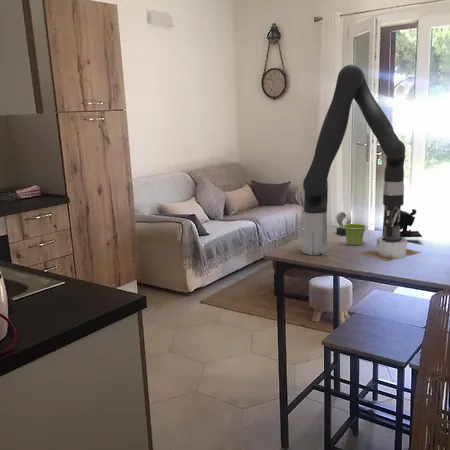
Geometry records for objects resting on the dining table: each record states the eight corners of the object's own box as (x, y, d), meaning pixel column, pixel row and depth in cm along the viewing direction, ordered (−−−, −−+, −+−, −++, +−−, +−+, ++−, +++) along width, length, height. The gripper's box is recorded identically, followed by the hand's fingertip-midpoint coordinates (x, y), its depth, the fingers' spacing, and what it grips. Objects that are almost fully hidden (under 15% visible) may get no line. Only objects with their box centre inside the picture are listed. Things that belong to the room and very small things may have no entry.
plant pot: (365, 243, 218) (365, 223, 216) (366, 248, 209) (366, 228, 207) (343, 242, 220) (343, 223, 218) (343, 248, 211) (343, 228, 209)
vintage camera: (422, 246, 211) (425, 199, 207) (383, 244, 214) (387, 198, 210) (418, 241, 220) (421, 196, 216) (381, 239, 223) (384, 195, 219)
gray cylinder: (392, 249, 192) (393, 229, 190) (381, 246, 196) (381, 226, 195) (402, 246, 194) (403, 226, 193) (391, 244, 199) (391, 224, 197)
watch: (343, 232, 240) (343, 209, 237) (354, 235, 232) (354, 212, 230) (333, 233, 237) (334, 210, 235) (344, 236, 230) (344, 213, 228)
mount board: (386, 263, 187) (386, 261, 187) (358, 255, 199) (358, 253, 199) (421, 254, 197) (422, 252, 196) (393, 247, 209) (393, 245, 208)
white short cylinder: (392, 259, 189) (393, 244, 187) (371, 253, 198) (371, 238, 196) (412, 254, 194) (412, 239, 193) (390, 249, 203) (390, 234, 202)
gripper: (388, 189, 199) (387, 229, 202) (378, 195, 187) (377, 237, 190) (408, 190, 195) (406, 231, 198) (398, 196, 183) (397, 239, 186)
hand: (392, 234), depth 194 cm, fingers open, 8 cm apart
